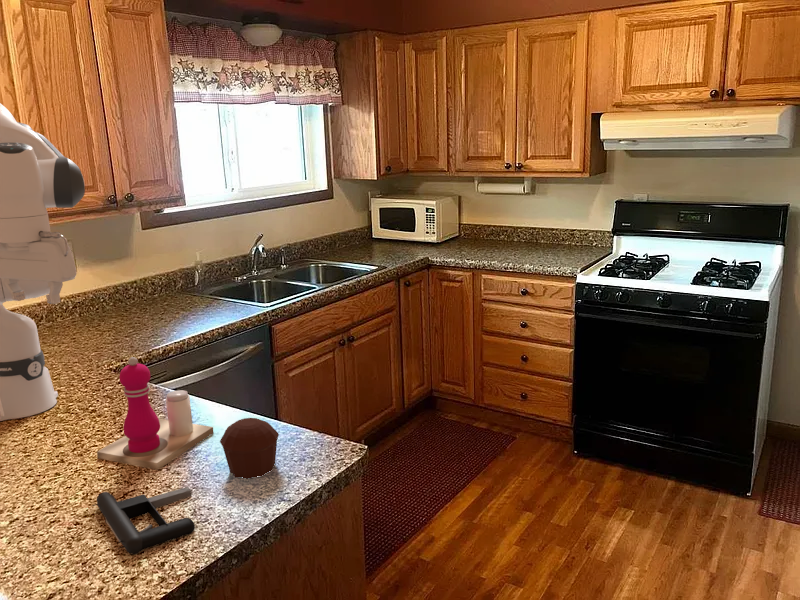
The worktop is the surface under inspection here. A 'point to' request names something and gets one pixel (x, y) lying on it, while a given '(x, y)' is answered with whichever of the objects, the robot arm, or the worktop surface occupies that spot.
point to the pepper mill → (139, 409)
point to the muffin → (250, 447)
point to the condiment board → (162, 454)
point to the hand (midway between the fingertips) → (36, 301)
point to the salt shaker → (179, 413)
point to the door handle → (140, 505)
